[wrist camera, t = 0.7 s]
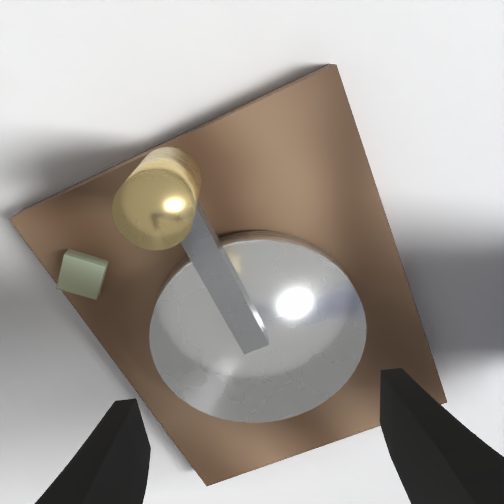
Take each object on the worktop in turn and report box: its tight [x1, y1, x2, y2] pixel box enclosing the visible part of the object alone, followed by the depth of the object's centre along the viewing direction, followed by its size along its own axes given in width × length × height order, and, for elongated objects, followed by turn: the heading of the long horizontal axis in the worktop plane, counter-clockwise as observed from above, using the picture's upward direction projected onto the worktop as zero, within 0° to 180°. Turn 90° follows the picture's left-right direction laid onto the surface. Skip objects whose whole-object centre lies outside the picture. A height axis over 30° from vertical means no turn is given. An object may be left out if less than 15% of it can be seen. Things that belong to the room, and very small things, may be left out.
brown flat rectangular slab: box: [9, 64, 447, 486], centre depth 22 cm, size 15×19×2 cm
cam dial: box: [112, 147, 367, 423], centre depth 18 cm, size 15×10×5 cm
